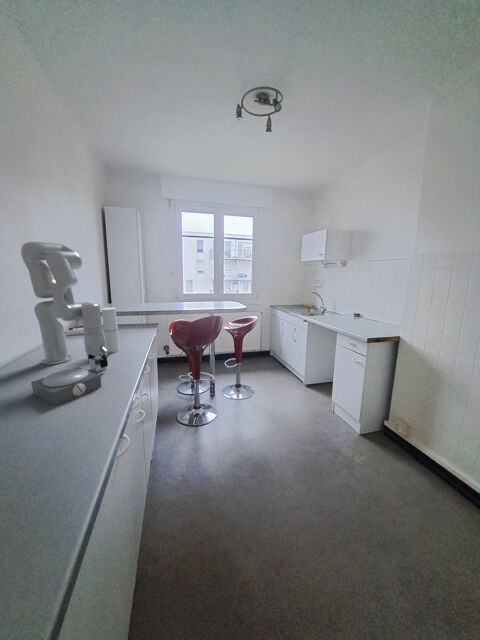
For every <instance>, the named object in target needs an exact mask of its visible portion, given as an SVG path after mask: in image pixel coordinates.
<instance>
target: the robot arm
mask: <svg viewBox="0 0 480 640" xmlns="http://www.w3.org/2000/svg"><path fill="white" fill-rule="evenodd" d="M20 255H21V258H22V261H23V263H24V264H25V267H26V268H27V270H28V274H29V277H30V278H29V279H30V281H31V286H32V289H33V293H34V295H35V297H36V298H38V299H51V298H52V300H45V301H41V302H38V303H37V304H36V305H34V308H33V309H34V314H35V316H36V317H35V318H37V321H38V325H39V329H40V335H41V340H42V345H43V351H44V356H45V358H44V359H43V360H41V362H42V363H41V364H43V365H44V366H45V365H47V366H49V365H51V366H52V365H59V364H63V363H66V362H68V361H70V360H72V355H71V354H68V349H67V348H68V347H67V341H66V337H65V330H64V326H63V324H62V323H61V322H60V321H59V319H61V320H62V321H65V322H72V321H76V320H81V319H82V327H83V331H84V332H83V333H84V334H83V335H84V339H83V340H84V342H83V343H84V351H85V354H86V355H87V359H88V361H89V358H93V357H96V356H99V357H100V359H101V360H100V366H101V368H104V367H107V368H108V366H109V364H108V358H109V357H108V356H109V352H108V350H107V349H106V343H105V335H104V327H103V319H102V311H101V307H100V304H98V303H90V302H87V301H86V302H76V303H75V300H74V294H73V290H72V287H74V286H76V284H77V283H78V282H79V281H78V278H77V276H76V274H75V272H74V270H78V269H80V268H81V267H82V265H83V261H82V257H81V256H80V255H79V253H77V251H75V250H73V249H72V248H70V247H68V246H67V245H64V244H62V243H56V242H55V243H54V242H44V241H43V242H42V241H28V242H25V243H24V244H22V246H21V249H20ZM43 261H46V263H47V264H46V263H45V262H43Z"/></svg>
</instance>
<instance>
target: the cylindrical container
mask: <svg viewBox="0 0 480 640" xmlns="http://www.w3.org/2000/svg"><path fill="white" fill-rule="evenodd" d="M100 312H101V320H102V327H103V336H104V340H105V345H106V349H107V350H108V353H116V352H119V351H121V347H120V340H119V339H120V337H119V331H118V329H119V328H118V321H117V320H118V319H117V310H116V307H105V308H100Z"/></svg>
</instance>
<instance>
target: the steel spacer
mask: <svg viewBox="0 0 480 640" xmlns="http://www.w3.org/2000/svg"><path fill="white" fill-rule="evenodd" d="M100 360H101V359H100V357H99V356H95V357H93V358H89V360H88V364H89V369H90V370H89V371H90V372H93V373H96V374H98V373H99V372H102V371H105V370H107V368H108V366H107V367H104V368H101V366H100Z"/></svg>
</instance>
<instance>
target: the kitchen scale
mask: <svg viewBox="0 0 480 640" xmlns="http://www.w3.org/2000/svg"><path fill="white" fill-rule="evenodd" d="M30 384H31V389H32V393H33V394H32V395H35V396H37V397H38V398H40V399H41V400H44V401H45V402H47V403H49V404H50V405H53V406H55V407H56V406H57V405H60V404H63V403H65V402H68V401H69V400H72V399H74V398H77V397H79V396H83V395H84V394H86V393H89V392H92V391H94V390H97V389H99V388H101V387H102V380H101V375H100V374H98V373H96V372H93V371H90V370H88V369H86V368H81V367H78V366H77V367H74V368H70V369H63V370H60V371H57V372H54V373H51V374H49V375H47V376H45V377H42V378H39V379H36V380H33V381H30Z"/></svg>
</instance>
